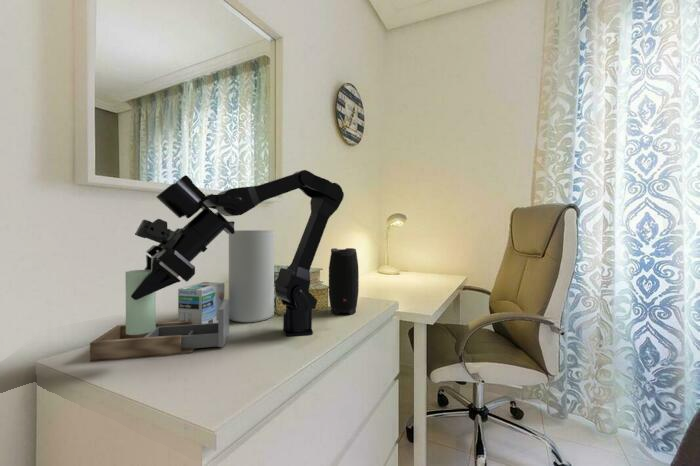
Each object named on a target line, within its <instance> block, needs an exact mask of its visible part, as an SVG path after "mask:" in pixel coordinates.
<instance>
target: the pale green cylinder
mask: <svg viewBox="0 0 700 466" xmlns="http://www.w3.org/2000/svg"><path fill="white" fill-rule="evenodd" d="M150 271H151V270H144V269H134V270H129V271H125V274H124V275H125V325H126V334H128V335H139V334H145V333H149V332H152V331H154V330H155V329H156V323H157V316H156V314H157V313H156V310H157V309H156V307H157V303H156V301H157V300H156V295H157V293H156V292H157V291H156V292H153V293H151V294H149V295H147V296H144V297H142V298H140V299H138V300H134V299H133V298H131V295H132V294H133V292H134V291H135V290H136V288H137V287H138V286H139V285H140V283H141V282H142V281H143V280H144V278H145V277H146V276H147V275H148V273H149V272H150Z"/></svg>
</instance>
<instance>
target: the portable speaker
mask: <svg viewBox="0 0 700 466" xmlns="http://www.w3.org/2000/svg"><path fill="white" fill-rule="evenodd" d="M329 258H330V259H329V265H328V297H329V298H328V299H329V306H330V314H333V315H335V316H336V315H337V316H338V315H339V314H340V313H347V314H348V315H353V314H352V313H355V314H356V312H357V307H358V306H357V305H358V299H359V289H360V288H359V282H360V281H359V277H360V276H359V261H358V260H359V259H358V254H357V250H356V248H353V247H352V248H351V247H350V248H349V247H348V248H343V249H338V247H337V248H334V247H333V248H331V249H330V257H329Z"/></svg>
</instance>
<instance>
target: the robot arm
mask: <svg viewBox="0 0 700 466" xmlns="http://www.w3.org/2000/svg"><path fill="white" fill-rule="evenodd" d="M297 189H298V190H300V191H302V193H303V194H304V195H305V196H306V197H308V198H310V215H309V218H308V220H307V222H306V225H305V228H304V230H303V233H302V235H301V238H300V241H299V244H298V246H297V249H296V250H295V253H294V256H293V258H292V262H291V263H290V265H289V266H288V267H287V268H283V267H281V268H280V269H279V271H278V276H277V278H276V280H274V293H275V294H276V296H277V297H278V299H280V301H281V303H282V305H284V306H285V311H284V312H283V313H282V330H283V332H285V336H286V337H289V336H290V337H291V336H303V335H312V334H314V331H313V329H312V328H313V327H312V326H313V325H312V324H313V311H312V310H315V309H316V307H317V303H318V299H317V298H316V297H315V296H314V295H312V293H311V292H310V286H311V274H310V273H311V272H310V270H311V267H312V265H313V261H314V260H315V256H316V254H317V251H318V249H319V246H320V242H321V240H322V237H323V235H324V232H325V229H326V226H327V224H328V221H329V219H330V217H332V215H333V214H335V212H336V211H337V210H338V209H339V207H340V205H341V204H342V202H343V200H344V196H345V193H344V191H343V188H342V187H341V185H340V184H339V183H337V182H332V181H330V180H329V179H326V178H325V177H324V178H323V177H321V176H319V175H317V174H316V175H315V173H313V172H311V171H309V170H307V169H302V170H299V171H295V172H294V173H292V174H290V175H287V176H286V175H285V176H283V177H280V178H277V179H273V180H271V181H268V182H264V183H261V184H259V185H251V186H250V185H249V186H244V187H233V188H229V189H226V190H223V191H220V192H219V193H218V194H213V193H210V194H207V195H205V193H204V192H203V191H201V190H200V188H198V187H197V186H196V185H195V183H194V182H193V181H192V179H191V178H190V177H189V176H188V175H183V176H182V177H180V178H179V179H178V180H176V182H174V183H171V184H170V185H169V186H168V187H166V188H165V189H164V190H162V191H161V192H160V193H158V195H157V196H156V197H155V198H156V199H157V200H158V201H160V202H161V203H162V204H163V205H164V206H166V208H167V209H168V210H169V211H171V212H172V213H173V214H174V215H175V216H176V217H178V218H179V219H180V218H182V217H185V218H186V219H190V218H191V217H193V216H194V215H195V214H196V215H195V217H193V218H192V219H191V220H190V221H189V222H188V223H187V224H185V225H184V226H183V227H181V228H176V229H175V230H172V229H170V228H168V222H167V221H166V220H163V219H161V218H156V220H154V221H151V220H149V219H142V221H141V222H140V224H139V226H138V228H137V230H135V233H134V235H135V236H136V237H140V238H143V239H148V240H151V241H154V242H156V243H159V244H155V245H154V244H153V245H152V246H151V247H149V249H148V250H146V251H145V252H146V253H147V254H146V255H145V260H146V261H145V263H146V265H145V267H144V269H143V270H151V271H150V272H149V273H148V275H147V276H146V277H145V278H144V280H143V281H142V282H141V283H140V285H139V286H138V287H137V288H136V290H135V291H134V292H133V294H132V295H131V298H133V299H134V300H138V299H140V298H142V297H144V296H147V295H149V294H151V293H153V292H158V291H160V290H162V289H164V288H167V287H169V286H171V285H174V284H176V283H180V282H181V280H180V278H179V277H181V279H182V280H183V281H185V282H186V283H187V282H189V281H190V280H191V279H192V278H193V277H194V276H195V275H196V267H195V265H193V263H191V262H192V261H193V260H194V259H195V258H196V257H197V256H198V255H200V254H201V252H202V253H205V252H206V251H207V250H208V248H207V246H209V244H211V243H212V242H213V241H214V240H215V239H216V238H217V237H218V236H219V235H220V234H221V233H222V232H225V233H226V234H228V235H229V234H234V233H235V231H234V230H235V221H232V220H230V221H229V220H227V218H226V217H236V216H237V217H238V216H242V215H244V214H246V213H247V212H249V211H250V210H252V209H255V208H256V207H257V206H259V204H261V203H263V202H264V201H266V200H270V199H273V198H275V197H278V196H280V195H284V194H287V193H290V192H292V191H295V190H297ZM212 209H213V210H216V211H217V212H214V211H213V210H212ZM200 210H201V211H200ZM199 211H200V212H199ZM198 212H199V213H198ZM197 213H198V214H197ZM149 255H150V256H149Z"/></svg>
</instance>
